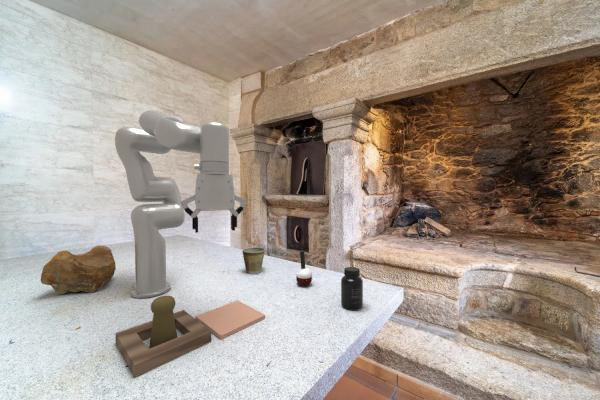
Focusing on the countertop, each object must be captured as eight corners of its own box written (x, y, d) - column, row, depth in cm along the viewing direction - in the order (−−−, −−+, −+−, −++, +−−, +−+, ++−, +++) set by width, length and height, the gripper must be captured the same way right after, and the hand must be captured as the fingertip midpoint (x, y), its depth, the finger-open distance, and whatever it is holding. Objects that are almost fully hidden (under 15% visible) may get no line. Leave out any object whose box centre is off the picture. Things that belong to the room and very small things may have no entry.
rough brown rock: (74, 306, 80) (78, 260, 80) (31, 298, 82) (34, 253, 82) (132, 282, 103) (135, 246, 103) (97, 276, 105) (100, 241, 105)
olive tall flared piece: (165, 352, 57) (164, 304, 56) (143, 348, 58) (142, 302, 57) (183, 336, 63) (182, 293, 62) (162, 333, 64) (161, 291, 63)
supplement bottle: (363, 303, 82) (364, 266, 82) (361, 312, 76) (362, 273, 75) (342, 299, 84) (343, 264, 84) (339, 308, 78) (339, 271, 77)
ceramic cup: (263, 275, 108) (263, 252, 107) (240, 275, 108) (239, 252, 108) (267, 266, 121) (267, 245, 120) (246, 266, 121) (246, 245, 121)
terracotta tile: (195, 319, 71) (195, 316, 71) (237, 303, 81) (237, 300, 81) (221, 339, 61) (220, 335, 61) (265, 318, 72) (265, 315, 72)
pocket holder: (115, 343, 60) (115, 333, 60) (183, 318, 71) (183, 309, 71) (134, 377, 49) (134, 365, 49) (211, 341, 61) (211, 331, 61)
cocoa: (309, 290, 93) (311, 259, 92) (293, 288, 94) (294, 257, 93) (313, 280, 102) (314, 252, 101) (298, 278, 103) (299, 250, 102)
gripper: (179, 167, 62) (180, 235, 63) (248, 169, 69) (249, 231, 70) (180, 169, 69) (181, 230, 70) (243, 171, 76) (244, 227, 76)
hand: (215, 230), depth 70 cm, fingers open, 9 cm apart
